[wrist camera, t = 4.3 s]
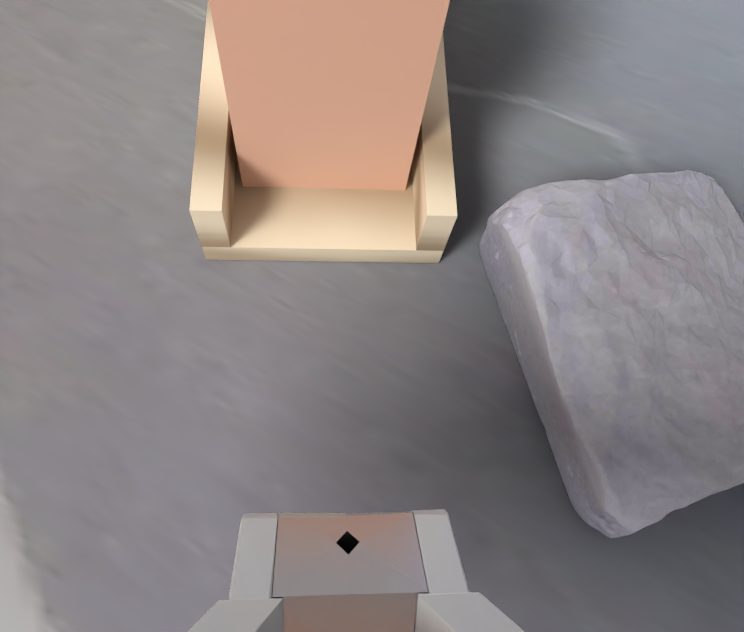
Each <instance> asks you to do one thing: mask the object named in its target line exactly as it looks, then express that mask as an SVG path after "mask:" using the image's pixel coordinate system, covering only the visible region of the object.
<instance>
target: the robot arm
mask: <svg viewBox="0 0 744 632" xmlns="http://www.w3.org/2000/svg"><path fill="white" fill-rule="evenodd" d="M187 632H525V631H523V630H522V629H521V628H520V627H519V626H518V625H517V624H515V623H514V622H513V621H512V620H511V619H510V618H509V617H507V616H506V615H505V614H504V613H503V612H502V611H501V610H499V609H498V608H497V607H496V606H495V605H494V604H493V603H491V602H490V601H489V600H488V599H487V598H486V597H485V596H483V595H482V594H481V593H480V592H469V588H468V585H467V581H466V577H465V574H464V570H463V566H462V563H461V559H460V555H459V552H458V548H457V544H456V541H455V537H454V533H453V530H452V526H451V522H450V519H449V515H448V513H447V512H446V511H445V510H444V509H435V510H412V511H411V512H410V511H404V512H368V513H279V514H277V513H244V515H243V517H242V519H241V524H240V530H239V536H238V543H237V549H236V555H235V562H234V568H233V575H232V581H231V587H230V594H229V600H218V601H217V602H216V603H215V604H214V605H213V606H212V607H211V608H210V609H209V610H208V611H207V612H206V613H205V614H204V615H203V616H202V617H201V618H200V619H199V620H198V621H197V622H196V623H195V624H194V625H193V626H192V627H191V628H190V629H189V630H188V631H187Z"/></svg>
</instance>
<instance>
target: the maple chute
mask: <svg viewBox="0 0 744 632" xmlns="http://www.w3.org/2000/svg"><path fill="white" fill-rule="evenodd" d="M190 213H191V216H192V219H193V222H194V225H195V228H196V231H197V234H198V237H199V240H200V243H201V246H202V249H203V252H204V255H205V258H206V259H210V260H276V261H341V262H407V263H439V261H440V259H441V256H442V254H443V251H444V249H445V246H446V244H447V241H448V238H449V236H450V233H451V231H452V228H453V226H454V223H455V221H456V218H457V205H456V192H455V179H454V167H453V154H452V142H451V129H450V116H449V104H448V91H447V79H446V66H445V54H444V41H443V32H442V36H441V41H440V45H439V49H438V53H437V57H436V62H435V66H434V70H433V74H432V79H431V83H430V87H429V91H428V96H427V100H426V104H425V108H424V113H423V117H422V121H421V125H420V130H419V134H418V138H417V142H416V147H415V151H414V155H413V159H412V163H411V168H410V172H409V176H408V180H407V185H406V189H405V190H365V189H324V188H283V187H243V185H242V180H241V174H240V169H239V163H238V158H237V152H236V147H235V141H234V136H233V130H232V125H231V119H230V114H229V108H228V103H227V97H226V92H225V86H224V81H223V76H222V70H221V65H220V59H219V54H218V48H217V43H216V37H215V32H214V26H213V21H212V15H211V10H210V4H209V0H208V6H207V18H206V29H205V40H204V52H203V63H202V74H201V86H200V97H199V108H198V119H197V131H196V142H195V153H194V165H193V176H192V187H191V199H190Z"/></svg>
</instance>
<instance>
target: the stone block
mask: <svg viewBox="0 0 744 632" xmlns="http://www.w3.org/2000/svg"><path fill="white" fill-rule="evenodd" d="M479 249H480V256H481V259H482V262H483V265H484V268H485V272H486V275H487V277H488V280H489V282H490V285H491V288H492V290H493V293H494V296H495V298H496V301H497V304H498V306H499V309H500V311H501V314H502V317H503V319H504V322H505V325H506V328H507V330H508V333H509V336H510V338H511V341H512V344H513V347H514V349H515V352H516V355H517V358H518V360H519V363H520V365H521V368H522V370H523V373H524V375H525V378H526V381H527V384H528V386H529V389H530V392H531V395H532V398H533V401H534V404H535V406H536V409H537V412H538V414H539V417H540V419H541V421H542V423H543V425H544V427H545V430H546V435H547V438H548V441H549V444H550V446H551V449H552V451H553V454H554V457H555V460H556V463H557V466H558V469H559V471H560V474H561V477H562V481H563V483H564V485H565V487H566V490H567V493H568V496H569V499H570V501H571V503H572V505H573V507H574V509H575V511H576V512H577V514H578V515H579V517H580V518H581V519H583V520H584V521H585V523H586V524H588V525H590V526H591V527H593V528H595V529H596V530H598V531H599V532H601V533H602V534H604V535H605V536H607V537H609V538H611V539H613V538H618V537H622V536H627V535H631V534H634V533H635V532H637V531H639V530H641V529H642V528H644V527H647V526H649V525H651V524H653V523H656V522H658V521H660V520H662V519H663V518H664V517H665V516H666V515H667V514H668V513H669V512H671V511H673V510H676V509H680V508H685V507H687V506H688V505H690V504H691V503H695V502H697V501H699V500H701V499H703V498H705V497H707V496H710V495H712V494H715V493H718V492H721V491H724V490H728V489H731V488H733V487H735V486H737V485H740V484H744V223H743V222H742V220H741V219H740V217H739V215H738V214H737V212H736V210H735V208H734V207H733V205H732V204H731V202H730V200H729V199H728V197H727V196H726V195H725V193H724V191H723V189H722V187H720V186H719V185H717V183H716V181H715V180H714V179H713V178H712V177H710V176H705V175H704V174H703V173H699V172H695V171H690V170H683V171H676V172H673V173H669V172H658V173H640V174H628V175H625V176H622V177H619V178H614V179H609V180H604V181H602V180H589V179H583V180H565V181H558V182H551V183H546V184H542V185H539V186H536V187H533V188H529V189H525V190H523V191H521V192H519V193H518V194H516V195H515V196H514V197H512V198H511V199H509V200H508V201H507V202H506V203H505V204H503V205H502V206H501V207H500V208H499V209H497V210H496V211H495V212H494V213H493V214H491V216H490V217H489V218H488V222H487V228H486V230H485V231H484V233H483V235H482V237H481V241H480V245H479Z"/></svg>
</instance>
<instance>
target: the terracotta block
mask: <svg viewBox="0 0 744 632" xmlns="http://www.w3.org/2000/svg"><path fill="white" fill-rule="evenodd" d="M449 2H450V0H209V4H210V10H211V15H212V21H213V26H214V32H215V37H216V43H217V48H218V54H219V59H220V65H221V70H222V76H223V81H224V86H225V92H226V97H227V103H228V108H229V114H230V119H231V125H232V130H233V136H234V141H235V147H236V152H237V158H238V163H239V169H240V174H241V180H242V185H243V187H283V188H324V189H365V190H405V189H406V185H407V180H408V176H409V172H410V168H411V163H412V159H413V155H414V151H415V147H416V142H417V138H418V134H419V130H420V125H421V121H422V117H423V113H424V108H425V104H426V100H427V96H428V91H429V87H430V83H431V79H432V74H433V70H434V66H435V62H436V57H437V53H438V49H439V45H440V41H441V36H442V32H443V28H444V24H445V19H446V15H447V11H448V7H449Z"/></svg>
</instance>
